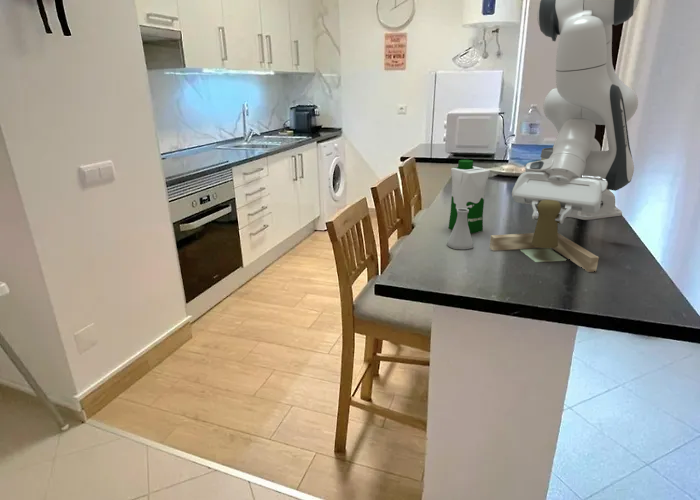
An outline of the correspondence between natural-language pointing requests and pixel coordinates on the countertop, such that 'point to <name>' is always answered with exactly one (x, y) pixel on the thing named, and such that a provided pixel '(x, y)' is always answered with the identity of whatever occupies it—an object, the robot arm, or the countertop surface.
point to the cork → (547, 224)
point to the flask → (461, 232)
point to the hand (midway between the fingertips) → (546, 220)
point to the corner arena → (546, 250)
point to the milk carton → (468, 194)
